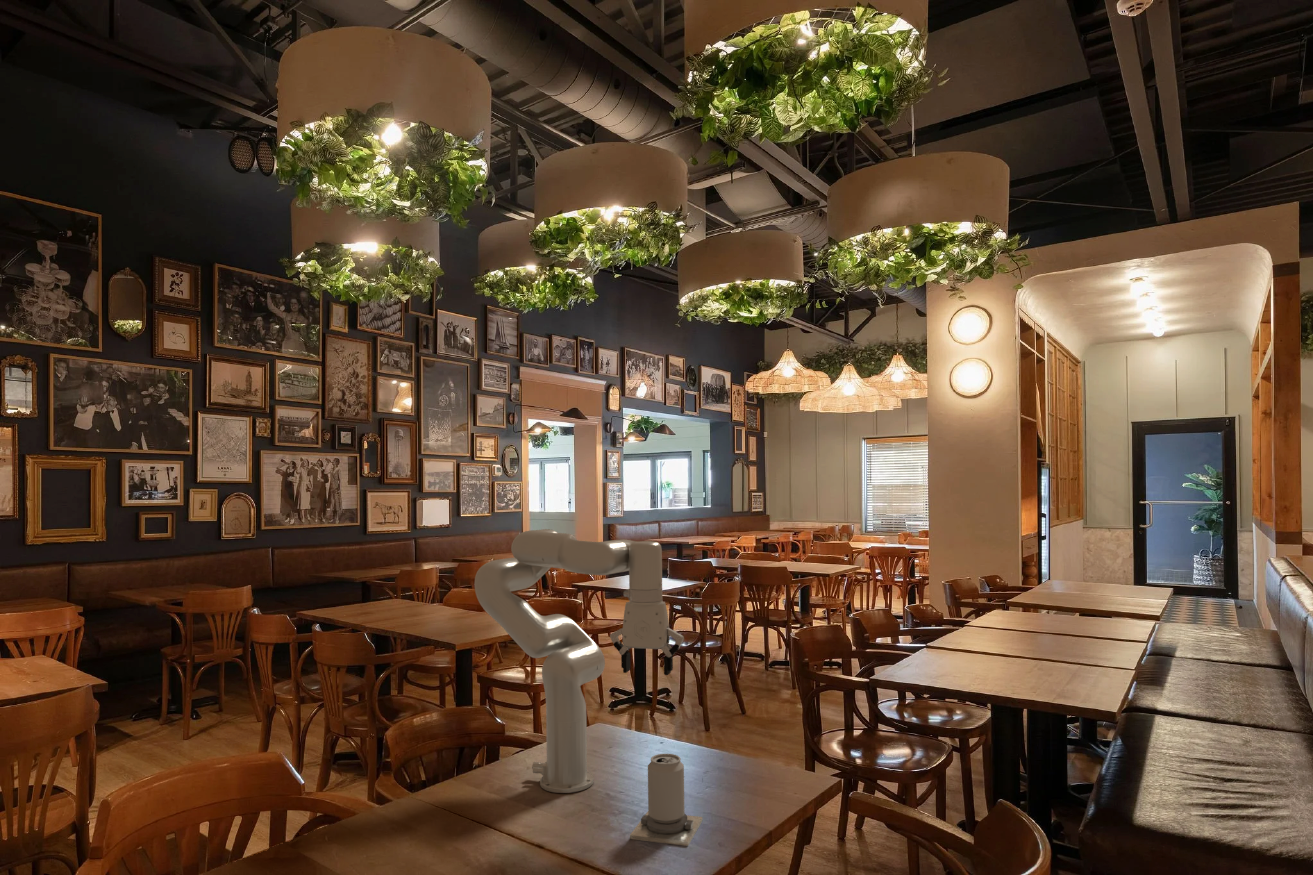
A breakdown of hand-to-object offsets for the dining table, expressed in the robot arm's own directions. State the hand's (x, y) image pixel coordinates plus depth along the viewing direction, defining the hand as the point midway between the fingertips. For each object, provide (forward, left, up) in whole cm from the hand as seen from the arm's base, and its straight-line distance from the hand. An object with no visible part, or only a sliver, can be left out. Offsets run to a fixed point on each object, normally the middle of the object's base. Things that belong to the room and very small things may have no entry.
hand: (647, 672), depth 178 cm
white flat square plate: (+8, -13, -28) cm, 32 cm away
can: (+8, -13, -26) cm, 30 cm away
